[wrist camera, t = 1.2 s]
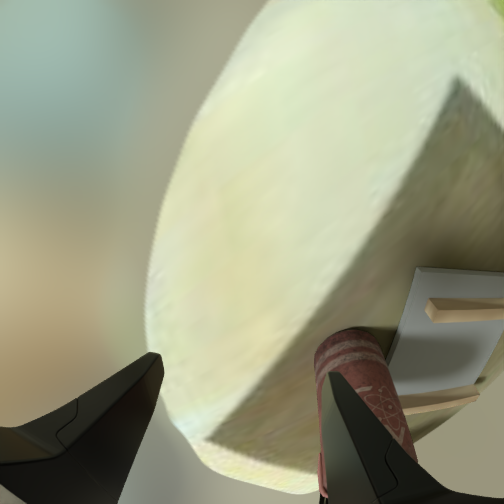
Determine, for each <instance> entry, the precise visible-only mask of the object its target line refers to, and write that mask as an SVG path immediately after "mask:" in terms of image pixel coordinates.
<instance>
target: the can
mask: <svg viewBox="0 0 504 504" xmlns="http://www.w3.org/2000/svg"><path fill="white" fill-rule="evenodd" d="M314 367H315V378H316V388H317V400H318V413H319V427H320V442H321V453H319V460H318V471H317V473H318V482H319V491H320V493H321V494H322V496H323V497H326V498H328V493H327V481H326V471H325V461H324V451H323V442H322V432H321V410H322V386H323V383H324V380H325V376H326V373H327V372H328V371H339V372H340V373H341V374H342V375H343V376H344V378H345V379H346V380H347V381H348V382H349V384H350V385H351V386H352V387H353V389H354V390H355V391H356V392H357V393H358V395H359V396H360V397H361V398H362V400H363V401H364V402H365V403H366V404H367V406H368V407H369V408H370V409H371V410H372V412H373V413H374V414H375V415H376V417H377V418H378V419H379V420H380V421H381V423H382V424H383V425H384V426H385V427H386V429H387V430H388V431H389V432H390V433H391V435H392V436H393V438H395V439H396V440H397V442H398V443H399V444H400V445H401V446H402V448H403V449H404V450H405V451H406V452H407V453H408V454H409V455H410V456H411V457H412V458H413V459H414V460H415V461H416V462H417V463H418V460H417V456H416V452H415V449H414V445H413V442H412V438H411V435H410V432H409V428H408V425H407V422H406V419H405V416H404V412H403V409H402V406H401V403H400V400H399V397H398V394H397V392H396V389H395V386H394V383H393V380H392V377H391V375H390V372H389V369H388V367H387V364H386V361H385V359H384V356H383V353H382V351H381V348H380V346H379V343H378V342H377V340H376V339H375V337H374V336H372V335H371V334H369V333H368V332H365V331H361V330H356V329H349V330H343V331H340V332H336V333H335V334H333V335H331V336H329V337H328V338H327V339H326V340H325V341H324V342H323V343H322V344H321V345H320V346H319V347H318V349H317V351H316V353H315V357H314Z"/></svg>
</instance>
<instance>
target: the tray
mask: <svg viewBox="0 0 504 504" xmlns="http://www.w3.org/2000/svg"><path fill="white" fill-rule="evenodd" d="M503 330H504V273H503V272H488V271H473V270H458V269H444V268H429V267H416V270H415V274H414V278H413V282H412V285H411V289H410V292H409V295H408V299H407V302H406V305H405V308H404V311H403V314H402V317H401V320H400V323H399V326H398V329H397V332H396V335H395V337H394V340H393V343H392V345H391V348H390V350H389V353H388V356H387V358H386V360H385V361H386V364H387V367H388V369H389V372H390V375H391V377H392V380H393V383H394V386H395V389H396V392H397V394H398V397H399V400H400V403H401V406H402V409H403V412H404V415H408V414H415V413H422V412H428V411H433V410H439V409H444V408H449V407H454V406H458V405H462V404H467V403H471V402H474V401H476V399H477V398H478V397H479V395H480V394H479V392H478V390H477V389H476V387H475V385H474V383H475V381H476V380H477V378H478V376H479V375H480V373H481V371H482V370H483V368H484V366H485V365H486V363H487V361H488V359H489V357H490V356H491V354H492V352H493V350H494V348H495V346H496V344H497V342H498V340H499V338H500V336H501V334H502V332H503Z"/></svg>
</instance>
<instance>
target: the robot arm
mask: <svg viewBox="0 0 504 504" xmlns="http://www.w3.org/2000/svg"><path fill="white" fill-rule="evenodd" d="M163 377H164V366H163V361H162V357H161V355H160V354H159V353H154V352H148V353H147V354H145V355H144V356H142V357H140V358H139V359H137V360H136V361H134V362H133V363H131V364H130V365H128V366H126V367H125V368H123V369H122V370H120V371H119V372H117V373H116V374H114V375H112V376H111V377H110V378H108V379H106V380H104V381H103V382H101V383H100V384H98V385H97V386H95V387H93V388H92V389H90V390H88V391H87V392H85V393H84V394H82V395H80V396H79V397H78V399H77V398H75V399H74V400H72V401H71V402H69V403H67V404H65V405H64V406H62V407H60V408H58V409H57V410H54V411H53V412H50V413H48V414H46V415H44V416H42V417H40V418H37V419H35V420H33V421H31V422H28V423H26V424H24V425H21V426H18V427H11V428H10V427H0V504H117V503H118V500H119V497H120V495H121V492H122V490H123V487H124V485H125V482H126V479H127V477H128V474H129V472H130V469H131V467H132V464H133V462H134V459H135V456H136V454H137V451H138V449H139V447H140V444H141V442H142V439H143V437H144V434H145V432H146V429H147V427H148V424H149V422H150V420H151V417H152V415H153V412H154V409H155V406H156V402H157V399H158V395H159V392H160V388H161V384H162V381H163ZM321 432H322V442H323V451H324V461H325V471H326V481H327V493H328V498H326V497H323V496H322V494H321V493H320V501H319V504H504V498H492V497H483V496H477V495H470V494H465V493H459V492H455V491H452V490H450V489H447V488H446V487H444V486H443V485H441V484H440V483H439V482H438V481H437V480H435V479H434V478H433V477H432V476H431V475H430V474H429V473H428V472H427V471H426V470H424V469H423V468H422V467H421V466H420V465H419V464H418V463H417V462H416V461H415V460H414V459H413V458H412V457H411V456H410V455H409V454H408V453H407V452H406V451H405V450H404V449H403V448H402V446H401V445H400V444H399V443H398V442H397V440H396V439H395V438H393V436H392V435H391V433H390V432H389V431H388V430H387V429H386V427H385V426H384V425H383V424H382V423H381V421H380V420H379V419H378V418H377V417H376V415H375V414H374V413H373V412H372V410H371V409H370V408H369V407H368V406H367V404H366V403H365V402H364V401H363V400H362V398H361V397H360V396H359V395H358V393H357V392H356V391H355V390H354V389H353V387H352V386H351V385H350V384H349V382H348V381H347V380H346V379H345V378H344V376H343V375H342V374H341V373H340V372H339V371H328V372H327V373H326V376H325V380H324V383H323V386H322V410H321Z"/></svg>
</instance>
